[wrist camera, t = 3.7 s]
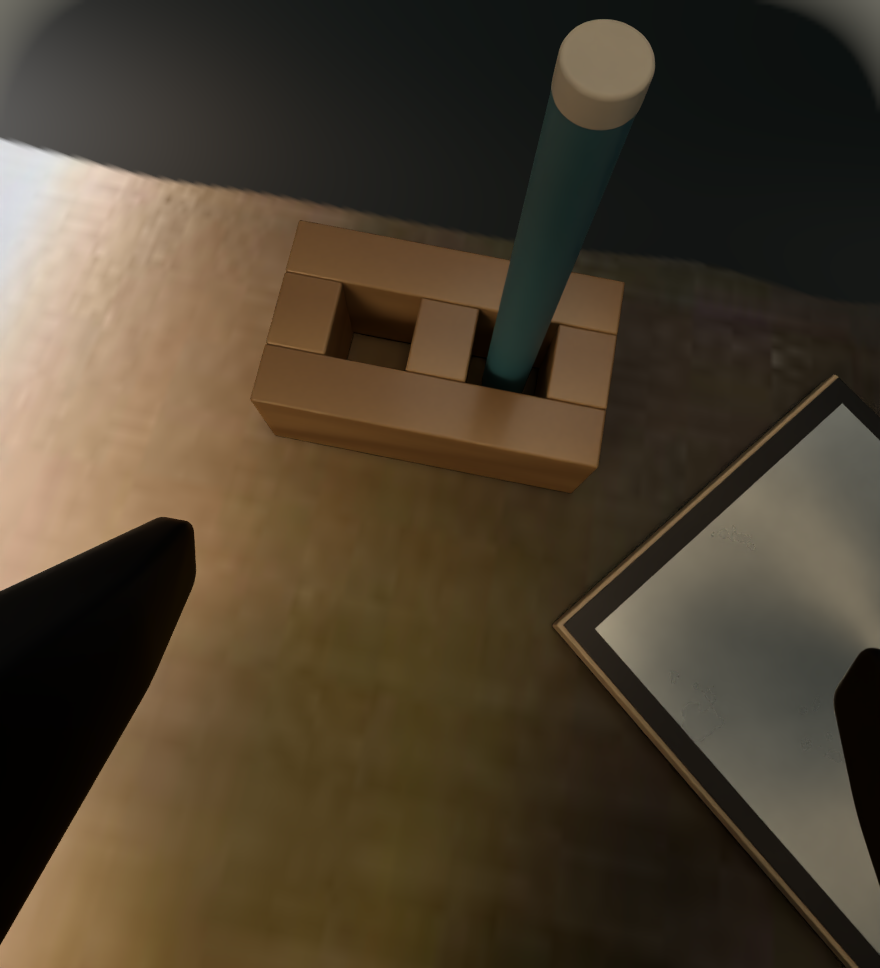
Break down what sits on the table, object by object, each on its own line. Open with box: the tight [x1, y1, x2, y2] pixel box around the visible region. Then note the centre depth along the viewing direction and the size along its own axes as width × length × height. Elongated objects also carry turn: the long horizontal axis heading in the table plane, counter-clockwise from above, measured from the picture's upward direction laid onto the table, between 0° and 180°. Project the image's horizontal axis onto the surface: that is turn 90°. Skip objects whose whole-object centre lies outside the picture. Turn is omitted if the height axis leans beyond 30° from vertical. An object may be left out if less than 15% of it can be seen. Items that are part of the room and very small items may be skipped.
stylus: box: [482, 19, 655, 394], centre depth 17 cm, size 1×1×14 cm
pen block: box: [250, 220, 625, 493], centre depth 22 cm, size 6×10×4 cm, turn 79°
